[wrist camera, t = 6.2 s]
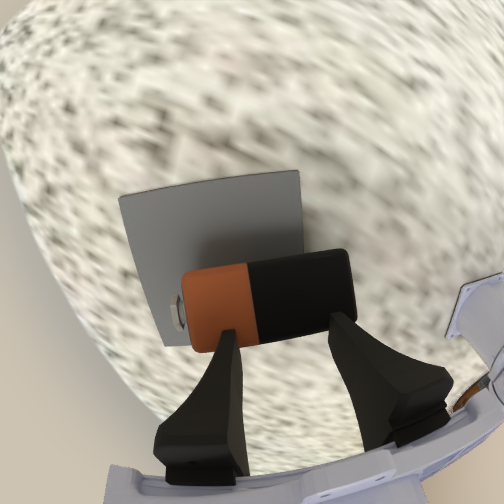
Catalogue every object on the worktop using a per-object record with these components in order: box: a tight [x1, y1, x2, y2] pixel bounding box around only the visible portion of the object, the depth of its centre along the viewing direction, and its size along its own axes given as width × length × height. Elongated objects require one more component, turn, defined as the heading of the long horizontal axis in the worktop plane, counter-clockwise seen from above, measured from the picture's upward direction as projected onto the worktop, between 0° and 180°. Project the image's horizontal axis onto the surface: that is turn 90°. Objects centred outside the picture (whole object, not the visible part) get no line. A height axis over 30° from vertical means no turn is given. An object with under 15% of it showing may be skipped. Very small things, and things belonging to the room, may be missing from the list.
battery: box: [170, 248, 357, 353], centre depth 17 cm, size 4×7×10 cm
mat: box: [118, 170, 304, 347], centre depth 21 cm, size 13×14×1 cm
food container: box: [453, 373, 504, 426], centre depth 32 cm, size 16×16×11 cm
